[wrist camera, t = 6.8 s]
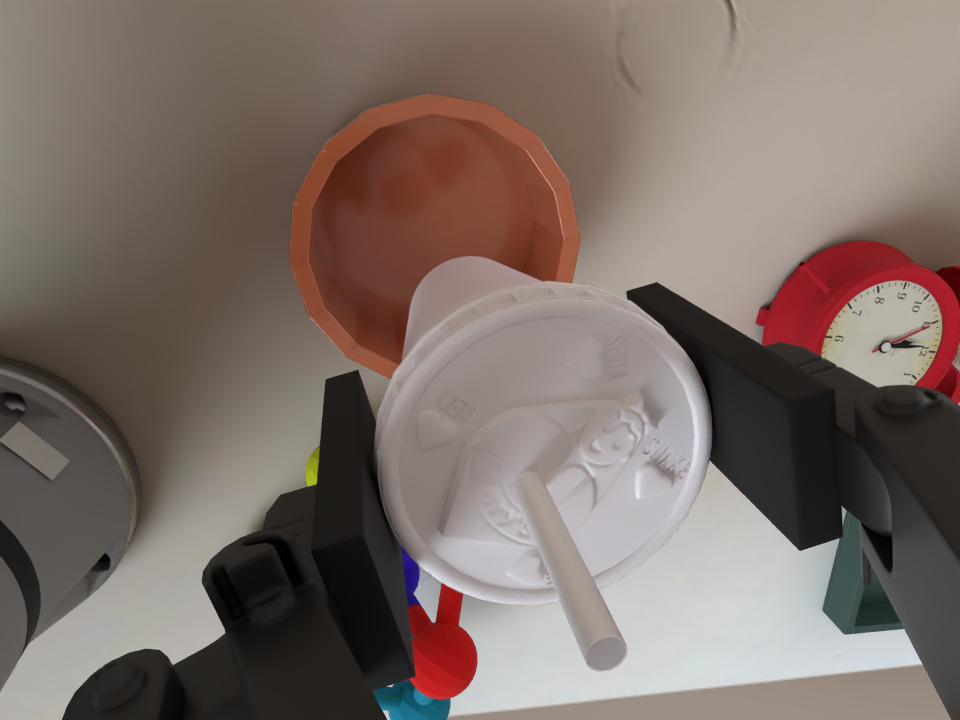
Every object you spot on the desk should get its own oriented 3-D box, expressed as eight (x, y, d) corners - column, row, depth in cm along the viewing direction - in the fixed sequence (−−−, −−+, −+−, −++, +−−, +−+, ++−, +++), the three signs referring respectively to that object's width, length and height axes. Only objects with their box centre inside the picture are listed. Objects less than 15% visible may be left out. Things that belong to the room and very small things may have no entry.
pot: (345, 370, 38) (343, 416, 33) (264, 134, 34) (246, 141, 28) (565, 306, 39) (600, 340, 34) (516, 68, 35) (547, 61, 29)
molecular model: (249, 578, 46) (447, 710, 43) (147, 657, 36) (391, 830, 34) (347, 379, 42) (567, 512, 40) (261, 411, 33) (541, 586, 31)
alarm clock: (810, 236, 36) (1100, 287, 36) (770, 221, 42) (1018, 265, 42) (752, 421, 39) (1017, 468, 39) (722, 382, 45) (953, 423, 45)
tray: (821, 610, 50) (844, 635, 48) (859, 457, 46) (886, 476, 44) (1005, 594, 53) (1035, 616, 51) (1056, 447, 49) (1091, 465, 46)
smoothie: (321, 282, 21) (275, 589, 8) (510, 168, 20) (787, 286, 8) (433, 445, 23) (539, 886, 10) (602, 345, 23) (932, 664, 10)
